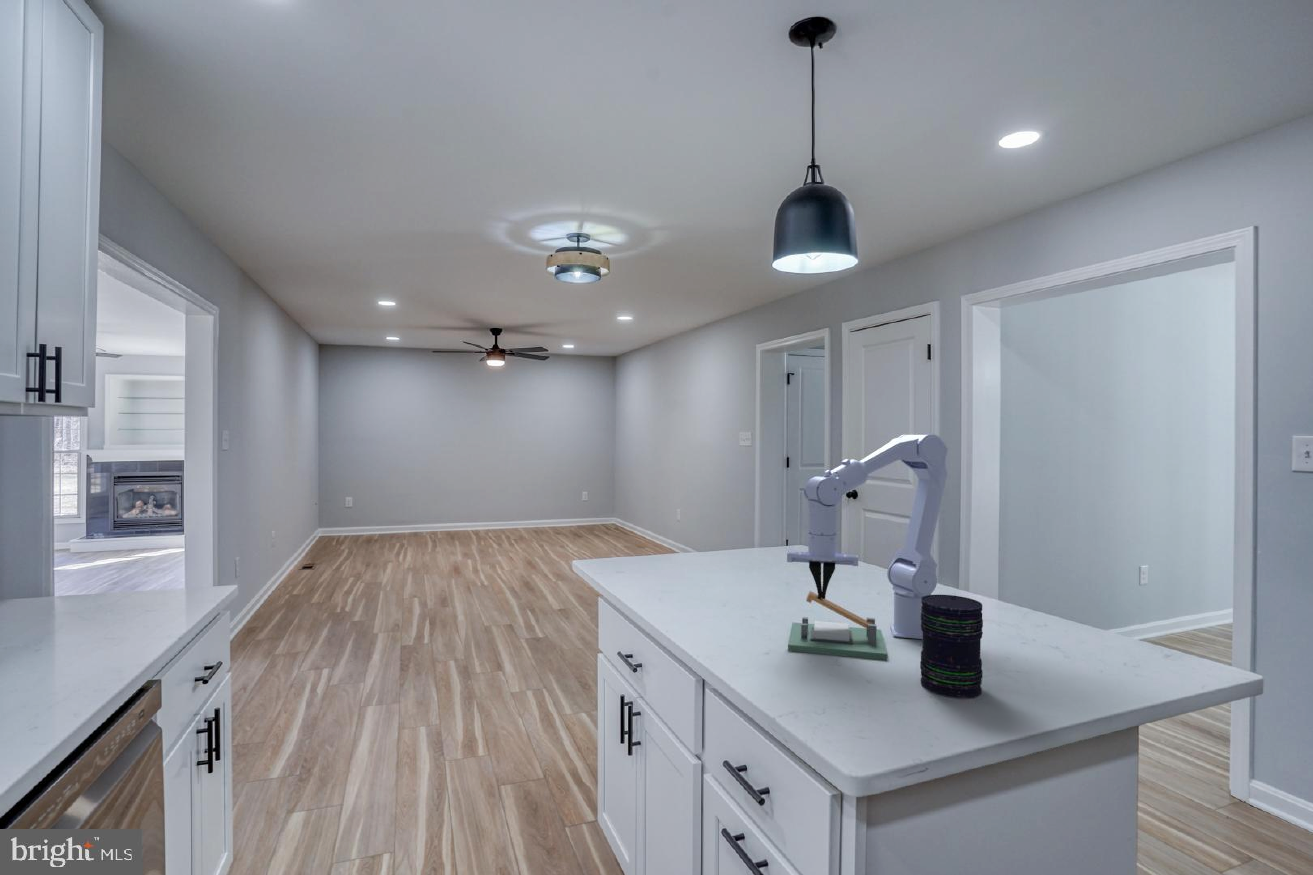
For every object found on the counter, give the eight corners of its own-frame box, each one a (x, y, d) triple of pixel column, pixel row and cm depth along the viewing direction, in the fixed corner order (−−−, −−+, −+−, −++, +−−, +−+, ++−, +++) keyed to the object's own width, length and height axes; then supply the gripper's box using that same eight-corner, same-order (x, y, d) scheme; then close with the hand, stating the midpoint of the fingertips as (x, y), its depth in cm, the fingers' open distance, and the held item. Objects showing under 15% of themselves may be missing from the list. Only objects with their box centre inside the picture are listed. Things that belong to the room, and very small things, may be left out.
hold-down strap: (871, 631, 133) (874, 623, 133) (871, 635, 131) (875, 628, 130) (806, 597, 137) (810, 590, 137) (806, 600, 134) (809, 593, 134)
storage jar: (979, 703, 104) (980, 612, 104) (915, 690, 109) (916, 603, 109) (984, 683, 112) (985, 599, 112) (925, 672, 117) (925, 591, 117)
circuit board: (881, 635, 139) (881, 612, 139) (887, 660, 124) (887, 634, 124) (792, 627, 144) (792, 605, 144) (787, 650, 129) (788, 626, 129)
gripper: (786, 534, 133) (785, 599, 133) (859, 538, 129) (858, 605, 129) (788, 529, 139) (787, 591, 140) (857, 533, 136) (857, 596, 136)
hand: (821, 597), depth 135 cm, fingers closed
